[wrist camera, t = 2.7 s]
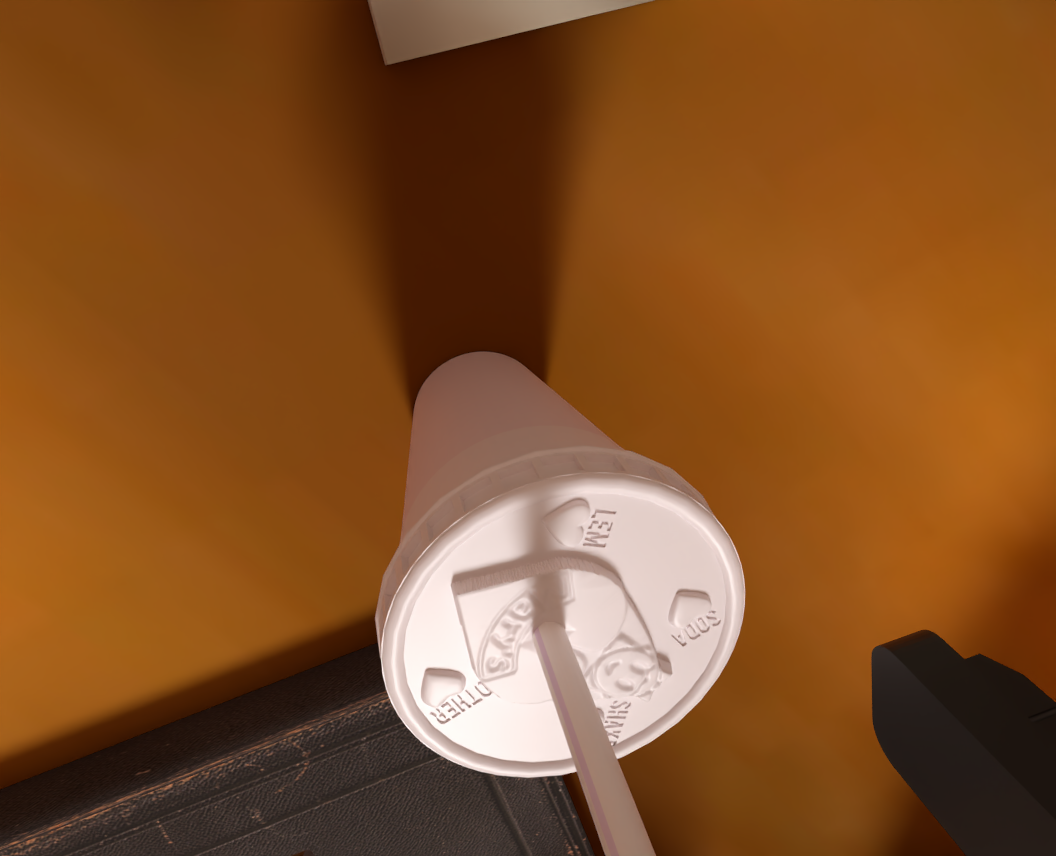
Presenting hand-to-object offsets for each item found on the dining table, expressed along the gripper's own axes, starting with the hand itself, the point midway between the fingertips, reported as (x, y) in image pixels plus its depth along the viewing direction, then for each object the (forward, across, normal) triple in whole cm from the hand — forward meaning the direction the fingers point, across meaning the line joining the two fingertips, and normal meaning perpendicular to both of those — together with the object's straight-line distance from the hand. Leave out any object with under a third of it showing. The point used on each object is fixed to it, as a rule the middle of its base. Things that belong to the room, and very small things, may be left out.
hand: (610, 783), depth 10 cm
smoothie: (+12, 0, 0) cm, 13 cm away
